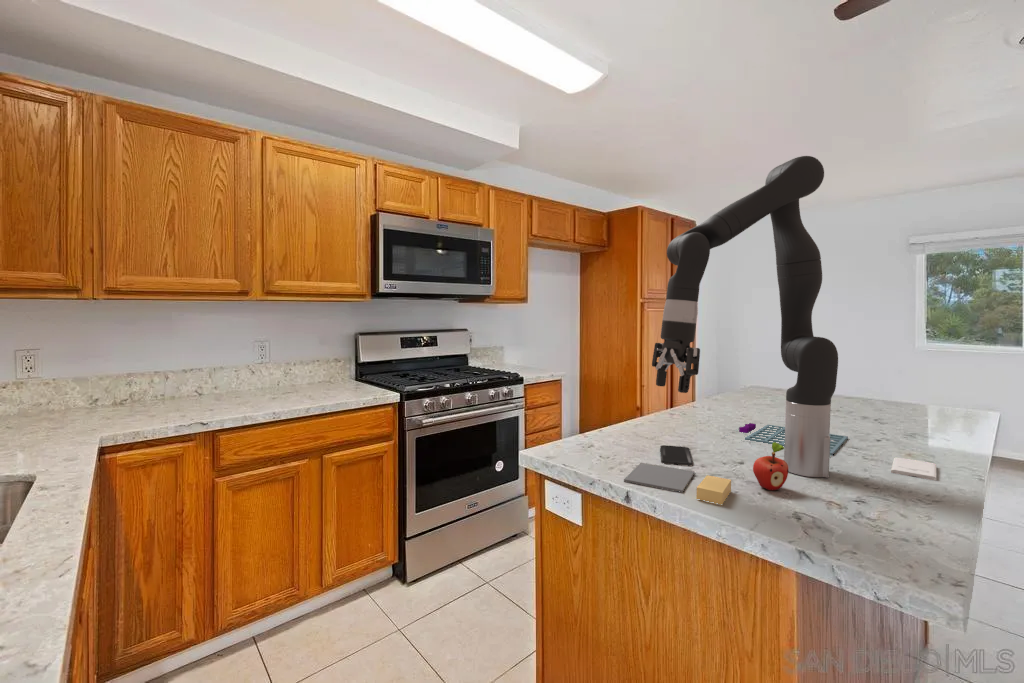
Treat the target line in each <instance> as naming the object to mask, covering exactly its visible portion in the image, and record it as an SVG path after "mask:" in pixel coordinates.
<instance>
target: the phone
mask: <svg viewBox="0 0 1024 683" xmlns="http://www.w3.org/2000/svg"><path fill="white" fill-rule="evenodd" d="M659 453H660V463H661V464H663V463H664V464H663V465H671V464H678V465H677V466H682V465H692V466H693V465H694V464H693V457H692V455H691V454H692V453H691V450H690V448H689V447H687V446H680V445H679V446H677V445H676V446H675V445H667V444H666V445H664V444H663V445H660V449H659Z"/></svg>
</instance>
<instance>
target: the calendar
mask: <svg viewBox="0 0 1024 683" xmlns="http://www.w3.org/2000/svg"><path fill="white" fill-rule="evenodd" d="M756 424H757V423H753V422H749V424H748V423H744V425H745V426H744V425H743V427H742V426H739V427H738V428H737V429H738V430H739V432H741V433H742V432H743V434H744V433H749V432H750V434H751V431H752V430H754V429H755V428H756ZM769 426H772V427H769ZM774 427H776V428H774ZM767 428H770V429H767ZM781 428H782V429H781ZM737 429H735V430H734V431H738V430H737ZM773 429H777V430H773ZM765 430H769V431H765ZM773 431H776V432H773ZM762 432H767V433H762ZM781 432H782V433H781ZM736 433H737V432H736ZM769 433H774V434H769ZM784 433H785V426H781V425H780V426H779V425H774V424H766V425H765V426H764V427H763V428H761V429H759V430H758V431H756V432H754V433H752V434H751V435H749V436H748V435H747V434H746V435H747V437H745V436H744V437H745V440H750V441H756V442H763V443H768V444H772V443H773V442H779V444H780V445H781V446H784V443H785V439H783V438H785V436H781V435H785V434H784ZM728 434H729V433H728ZM759 434H763V435H759ZM778 434H780V435H778ZM729 435H730V434H729ZM765 435H771V436H765ZM725 436H728V435H727V434H725V435H724V436H723V437H725ZM756 436H759V437H756ZM775 436H776V437H775ZM763 437H766V438H763ZM777 437H782V438H777ZM752 438H755V439H752ZM757 439H761V440H757ZM773 439H778V440H773ZM779 440H784V441H779ZM847 440H848V435H847V436H846V435H840V434H835V433H830V459H831V458H832V457H833V456H834V455H835V454H836V453H837V452H838V450H840V448H841V447H842V446H843V445H844V443H845V442H847ZM741 441H742V440H741ZM769 441H773V442H769ZM751 443H753V442H751ZM754 443H755V442H754ZM842 444H843V445H842ZM841 445H842V446H841ZM840 446H841V447H840ZM834 453H835V454H834ZM833 454H834V455H833ZM832 455H833V456H832ZM831 456H832V457H831Z"/></svg>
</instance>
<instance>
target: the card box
mask: <svg viewBox="0 0 1024 683" xmlns="http://www.w3.org/2000/svg"><path fill="white" fill-rule="evenodd" d="M731 492H732V479H729V478H725V477H724V478H723V477H720V476H713V475H709V474H707V475H706V476H705V477H704V478H703V479H702V481H701V482H700V483H699V484H698V485H697V486H696V497H695V498H696V499H700V500H705V501H709V502H714V503H718V504H723V502H724V501H725V502H726V500H727V499H728V497H729V496H730V494H731ZM729 493H730V494H729ZM728 495H729V496H728ZM727 496H728V497H727ZM726 498H727V499H726ZM725 499H726V500H725ZM725 502H724V503H725ZM723 505H724V504H723Z"/></svg>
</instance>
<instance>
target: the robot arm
mask: <svg viewBox="0 0 1024 683" xmlns="http://www.w3.org/2000/svg"><path fill="white" fill-rule="evenodd" d="M824 178H825V169H824V166H823V164H822V162H821V161H820V160H819V159H818V158H816V157H814V156H812V155H801V156H796V157H794V158H792V159H790V160H788V161H785V162H784V163H780V164H779V165H777V166H775V167H774V168H772V169H771V170H770V171H769V172H768V174H767V176H766V178H765V184H764V185H763V186H761V187H760V188H758V189H756V190H754V191H753V192H751V193H749V194H747V195H745V196H742V197H741V198H740V199H737V200H735V201H734V202H732V203H730V204H728V205H727V206H725V207H724V208H722V209H721V210H718V212H715V213H714V214H713V215H711V216H710V217H708V218H707V219H706V220H704V221H703V222H701V223H699V224H698V225H695V226H694V227H692V228H690V229H688V230H687V231H685V232H683V233H681V234H679V235H677V236H676V237H674V238H673V239H672V240H671V241H670V242H669V243H668V246H667V248H666V257H667V259H668V261H669V262H670V263H671V264H673V265H674V266H677V267H676V269H675V270H676V271H675V272H674V274H673V275H672V276H671V277H669V279H668V283H667V287H666V295H665V296H666V297H665V303H664V307H663V314H662V321H661V322H662V323H661V329H660V339H662V340H663V343H662V342H655V343H654V348H653V354H652V360H651V365H652V366H651V367H653V368H655V370H656V379H655V385H656V386H658V387H665V386H666V383H667V375H668V374H667V373H668V371H667V370H668V369H669V367H670V366H671V365H674V366H675V368H677V369H678V372H679V379H678V380H679V381H678V386H677V391H678V393H681V394H687V393H688V392H689V389H690V384H691V377H692V376H694V375H695V376H698V375H699V369H700V368H699V367H700V356H701V349H700V348H699V347H691V343H693V342H694V341H695V338H696V337H695V336H696V329H697V321H698V313H699V312H698V311H699V308H698V304H699V303H698V302H699V295H700V286H701V282H702V279H703V277H704V274H705V271H706V270H707V266H708V263H709V259H710V254H711V250H712V249H714V248H716V247H717V248H718V247H720V246H722V245H725V244H726V243H728V242H729V241H731V240H733V239H734V238H735V237H737V236H739V235H740V234H741V233H743V232H744V231H745V230H747V229H748V228H750V227H752V226H753V225H755V224H756V223H758V222H759V221H761V220H762V219H764V218H765V217H767V216H770V219H771V224H772V231H773V232H772V233H773V241H774V251H775V261H776V262H775V265H776V274H777V275H776V277H777V278H776V279H777V283H778V284H777V285H778V291H779V292H778V293H779V306H780V316H781V324H780V326H781V330H780V332H781V334H780V355H781V360H782V362H783V364H784V365H785V367H786V368H787V369H789V370H790V371H792V372H795V373H797V378H796V382H795V384H794V385H793V386H791V387H789V388H788V389H787V390H786V394H785V400H786V401H785V420H784V421H785V424H784V427H785V444H784V450H783V451H784V452H783V460H784V461H785V462H786V463H787V465H788V473H791V474H795V475H798V476H804V477H809V478H827V479H828V478H830V477H829V476H830V459H831V458H830V434H831V432H830V431H831V407H832V406H831V405H832V397H833V395H834V394H835V392H836V387H837V380H838V369H839V353H838V350H837V347H836V345H835V343H834V342H833V341H831V340H830V339H829V338H826V337H821V336H814V331H813V321H812V320H813V319H812V318H813V317H812V315H813V310H814V307H815V304H816V301H817V298H818V297H819V296H818V295H819V293H820V291H821V288H822V284H823V267H822V258H821V257H822V256H821V253H820V249H819V247H818V245H817V244H816V242H815V241H814V239H813V237H812V236H811V234H810V233H809V232H808V231H807V229H806V226H804V223H803V221H802V217H801V210H800V199H803V198H805V197H807V196H809V195H811V194H813V193H815V192H816V191H817V190H818V189H819V188H820V186H821V184H822V183H823V181H824ZM657 360H658V361H657ZM692 364H693V366H692ZM692 367H693V368H692Z"/></svg>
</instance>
